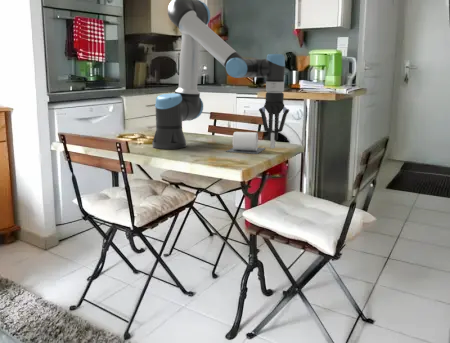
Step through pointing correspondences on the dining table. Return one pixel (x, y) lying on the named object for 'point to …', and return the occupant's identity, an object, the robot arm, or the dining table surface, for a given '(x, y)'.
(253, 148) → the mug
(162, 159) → the dining table surface
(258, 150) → the tile
